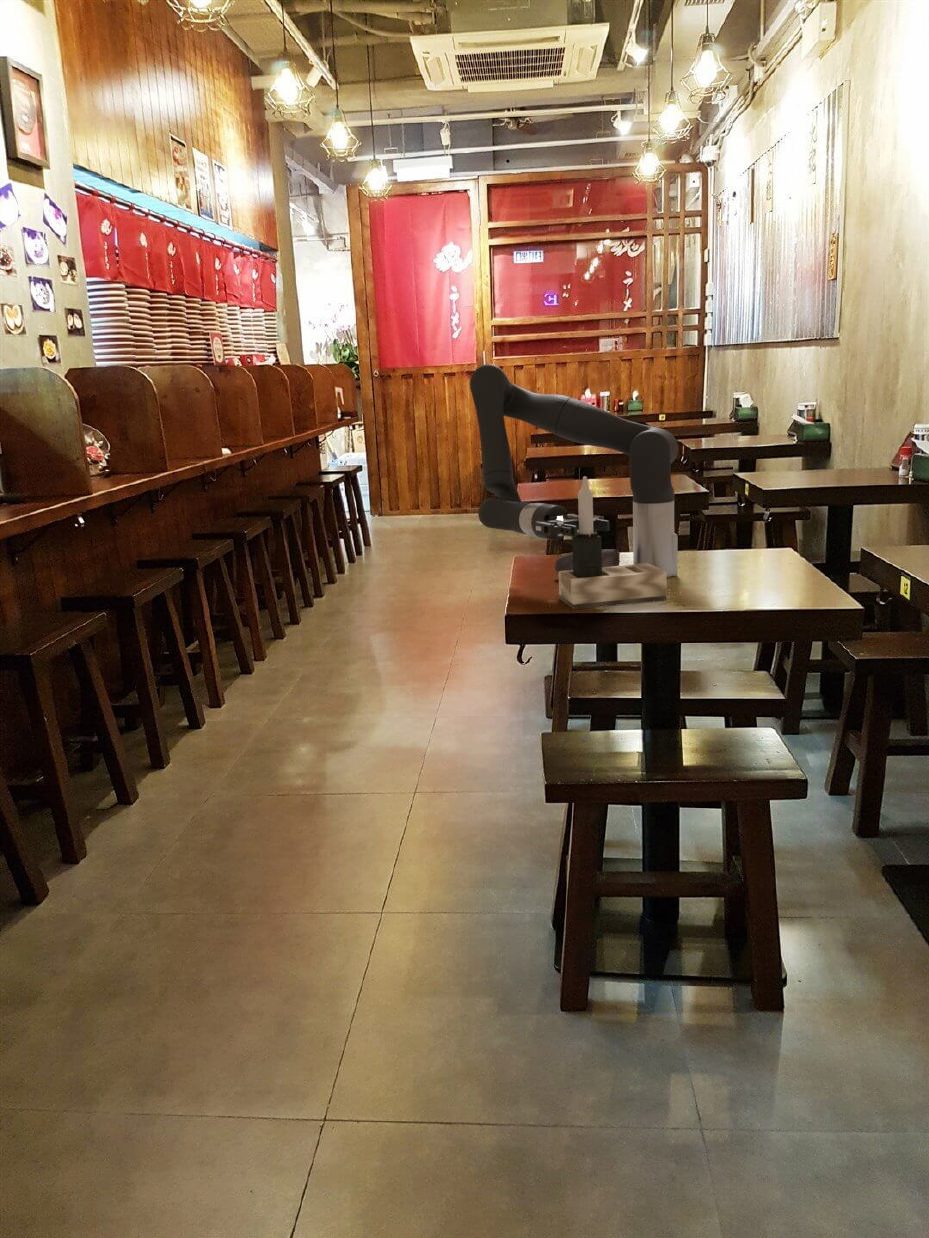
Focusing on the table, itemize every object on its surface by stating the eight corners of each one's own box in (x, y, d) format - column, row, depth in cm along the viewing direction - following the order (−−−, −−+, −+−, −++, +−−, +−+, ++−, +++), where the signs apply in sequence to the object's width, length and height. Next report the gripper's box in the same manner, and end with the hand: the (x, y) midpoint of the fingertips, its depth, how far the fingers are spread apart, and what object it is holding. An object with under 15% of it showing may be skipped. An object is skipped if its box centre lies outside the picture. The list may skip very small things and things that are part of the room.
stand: (648, 590, 209) (648, 563, 207) (666, 600, 199) (666, 571, 198) (559, 598, 205) (558, 571, 204) (573, 609, 195) (573, 580, 194)
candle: (581, 600, 198) (578, 478, 192) (572, 595, 203) (568, 476, 197) (604, 597, 199) (601, 476, 193) (594, 593, 204) (591, 474, 198)
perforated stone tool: (552, 581, 223) (552, 551, 221) (556, 576, 228) (556, 547, 226) (618, 581, 219) (617, 551, 217) (620, 577, 224) (620, 547, 222)
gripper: (516, 507, 205) (564, 514, 192) (569, 500, 212) (618, 506, 199) (518, 542, 207) (565, 551, 193) (570, 534, 214) (619, 542, 201)
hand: (592, 528), depth 196 cm, fingers open, 8 cm apart
